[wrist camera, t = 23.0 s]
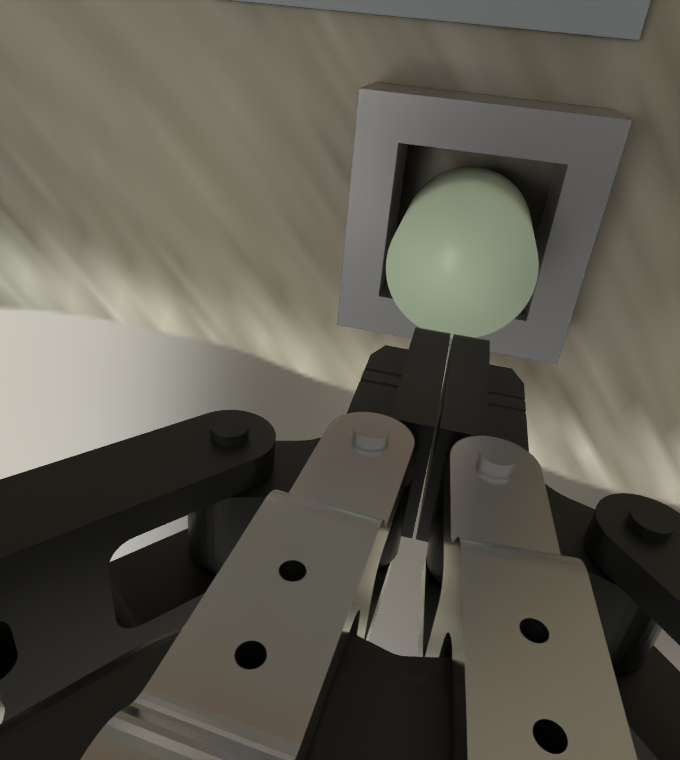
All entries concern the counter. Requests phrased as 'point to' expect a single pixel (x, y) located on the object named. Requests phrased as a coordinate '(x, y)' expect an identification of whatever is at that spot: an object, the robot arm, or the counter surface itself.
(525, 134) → the grey square holder
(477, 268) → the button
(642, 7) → the mat
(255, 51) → the counter surface
